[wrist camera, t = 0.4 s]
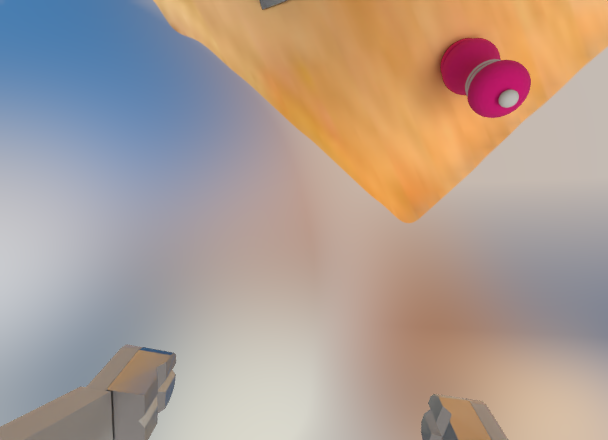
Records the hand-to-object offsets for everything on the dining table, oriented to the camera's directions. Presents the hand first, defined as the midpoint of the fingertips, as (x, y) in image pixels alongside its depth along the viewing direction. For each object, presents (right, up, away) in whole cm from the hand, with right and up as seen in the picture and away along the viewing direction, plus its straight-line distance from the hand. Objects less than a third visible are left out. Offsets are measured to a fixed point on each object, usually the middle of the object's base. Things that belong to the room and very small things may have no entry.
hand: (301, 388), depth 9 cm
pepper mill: (+25, +30, +37) cm, 53 cm away
